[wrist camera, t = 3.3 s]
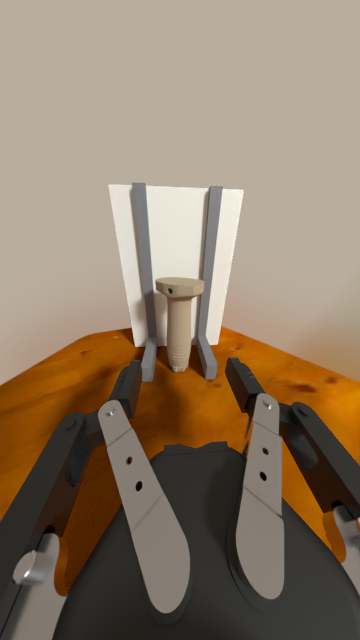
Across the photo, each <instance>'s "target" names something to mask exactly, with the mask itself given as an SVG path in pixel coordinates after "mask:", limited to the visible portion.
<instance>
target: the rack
mask: <svg viewBox="0 0 360 640" xmlns="http://www.w3.org/2000/svg"><path fill="white" fill-rule="evenodd" d="M108 186H109V192H110V199H111V205H112V210H113V216H114V222H115V229H116V235H117V241H118V247H119V252H120V259H121V265H122V271H123V277H124V283H125V289H126V295H127V301H128V306H129V313H130V319H131V325H132V331H133V337H134V343H135V347H146V348H145V352H144V356H143V360H142V364H141V366H142V381H143V382H153V377H154V370H155V363H156V355H157V348H158V346H167V340H166V339H167V306H168V305H167V298H166V296H165V295H163V294H162V293H160V292H159V291H157V290H156V285H155V280H156V279H159V278H164V277H182V278H192V279H197V280H202V281H204V282H205V283H204V291H203V293H201V294H200V295H199V296H197V297H194V298H193V299H192V303H191V345H196V346H197V350H198V353H199V357H200V361H201V365H202V368H203V372H204V376H205V379H215V378H216V373H217V367H218V364H217V362H216V360H215V357H214V355H213V352H212V350H211V347H210V345H218V340H219V335H220V329H221V322H222V317H223V311H224V305H225V298H226V293H227V287H228V281H229V275H230V269H231V263H232V257H233V252H234V246H235V240H236V234H237V228H238V222H239V216H240V210H241V204H242V198H243V192H244V190H232V189H223V187H222V186H211V187H210V188H184V187H162V186H146V185H145V183H132V185H114V184H109V185H108Z"/></svg>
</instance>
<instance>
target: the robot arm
mask: <svg viewBox="0 0 360 640" xmlns="http://www.w3.org/2000/svg"><path fill="white" fill-rule="evenodd" d="M225 374H226V377H227V379H228V382H229V384H230V386H231V389H232V391H233V393H234V396H235V398H236V400H237V402H238V405H239V407H240V409H241V412H242V413H248V416H249V417H248V421H247V426H246V431H245V435H244V440H243V444H242V447H241V451H240V453H239V452H238V451H236V450H235V449H233V448H230V447H228V445H227V442H226V441H224V442H211V443H209V444H206V445H204V446H202V447H199V448H196V449H195V448H191V447H188V446H184V445H180V444H177V445H164V451H162V452H160V453H158V454H156V455H155V456H154V457H153V458H152V459H151V460H150V461H148V459H147V457H146V455H145V453H144V450H143V448H142V446H141V444H140V442H139V440H138V438H137V436H136V434H135V431H134V430H133V428H132V427H131V425H130V423H129V421H128V420H129V418H133V417H134V412H135V408H136V404H137V399H138V395H139V390H140V386H141V382H142V366H141V361H140V360H132V361H131V362H130V365H129V367H124V368H123V369H122V370H121V372H120V374H119V376H118V379H117V382H116V384H115V386H114V388H113V391H112V393H111V395H110V398H109V400H108V402H106V403H105V404H104V405H103V406H102V407H101V408H100V409H99V410H97V411H95V412H92V413H89V414H86V415H84V416H83V414H82V413H80V412H75V413H72V414H70V415H68V416H66V417H65V418H64V419H63V420H62V421H61V422H60V423H59V425H58V426H57V428H56V430H55V431H54V433H53V435H52V436H51V438H50V440H49V441H48V443H47V445H46V446H45V448H44V450H43V451H42V453H41V455H40V456H39V458H38V460H37V462H36V463H35V465H34V467H33V468H32V470H31V472H30V473H29V475H28V477H27V478H26V480H25V482H24V483H23V485H22V487H21V488H20V490H19V492H18V494H17V495H16V497H15V499H14V500H13V502H12V504H11V505H10V507H9V509H8V510H7V512H6V514H5V515H4V517H3V519H2V520H1V522H0V640H360V466H359V465H358V463H357V462H356V461H355V460H354V459H353V457H352V456H351V455H350V454H349V453H348V451H347V450H346V449H345V448H344V447H343V445H342V444H341V443H340V442H339V441H338V439H337V438H336V437H335V436H334V435H333V433H332V432H331V431H330V430H329V429H328V427H327V426H326V425H325V424H324V423H323V421H322V420H321V419H320V418H319V417H318V415H317V414H316V413H315V412H314V411H313V410H312V409H311V408H310V407H309V406H307V405H305V404H303V403H301V402H294V403H293V404H292V405H291V406H290V405H286V404H282V403H279V402H277V401H276V400H275V399H274V398H273V397H271V396H270V395H268V394H266V393H265V392H264V390H263V389H262V387H261V386H260V384H259V383H258V381H257V380H256V378H255V377H254V375H253V373H252V372H251V370H250V369H249V367H247V366H246V365H245V364H244V363H240V361H239V359H238V358H228V360H227V365H226V369H225ZM279 435H280V436H279ZM281 436H282V438H283V440H284V442H285V443H286V445H287V447H288V449H289V451H290V453H291V454H292V456H293V458H294V460H295V462H296V464H297V466H298V467H299V469H300V471H301V473H302V475H303V477H304V478H305V480H306V482H307V484H308V486H309V488H310V489H311V491H312V493H313V495H314V497H315V499H316V500H317V502H318V504H319V506H320V508H321V510H322V512H323V513H324V515H323V525H324V529H325V531H326V536H327V539H328V541H329V543H330V544H331V547H332V551H331V550H330V549H329V548H328V547H327V546H326V545H325V543H324V542H323V541H322V540H321V539H320V538H319V537H318V536H317V535H316V534H315V533H314V531H313V530H312V529H311V528H310V527H309V526H308V525H307V524H306V523H305V522H304V521H303V519H302V518H301V517H300V516H299V515H298V514H297V513H296V512H295V511H294V510H293V509H292V507H291V506H290V505H289V504H288V503H287V502H286V501H285V500H284V499H283V498H282V438H281ZM104 443H106V445H107V452H108V455H109V459H110V462H111V465H112V469H113V472H114V476H115V479H116V482H117V486H118V489H119V493H120V496H121V500H122V505H121V506H120V508H119V509H118V511H117V513H116V514H115V516H114V517H113V519H112V521H111V522H110V524H109V525H108V527H107V529H106V530H105V532H104V533H103V535H102V537H101V538H100V540H99V542H98V543H97V545H96V546H95V548H94V550H93V551H92V553H91V554H90V556H89V558H88V559H87V561H86V562H85V564H84V566H83V567H82V569H81V570H80V572H79V574H78V575H77V577H76V579H75V581H74V583H73V585H72V586H71V588H70V591H69V593H68V592H67V591H66V588H65V569H66V565H67V560H68V554H69V547H68V543H67V541H66V540H65V539H64V538H62V537H63V534H64V531H65V528H66V525H67V522H68V519H69V516H70V513H71V511H72V508H73V505H74V502H75V499H76V496H77V493H78V490H79V488H80V485H81V482H82V479H83V476H84V473H85V470H86V467H87V465H88V462H89V459H90V456H91V453H92V450H93V448H95V447H97V446H100V445H102V444H104Z"/></svg>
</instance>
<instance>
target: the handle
mask: <svg viewBox="0 0 360 640" xmlns="http://www.w3.org/2000/svg"><path fill="white" fill-rule="evenodd" d="M204 283H205V282H204V281H202V280H197V279H192V278H182V277H164V278H159V279H156V280H155V285H156V290H157V291H159V292H160V293H162V294H163V295H165V296H166V298H167V305H168V306H167V339H166V340H167V353H168V358H169V365H170V367H172V370H173V371H174V372H178V371H181V372H183V371H185V368H186V367H187V366H188V362H189V361H188V360H189V356H190V350H191V303H192V299H193V298H194V297H197V296H199V295H200V294H201V293H203V291H204Z"/></svg>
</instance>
